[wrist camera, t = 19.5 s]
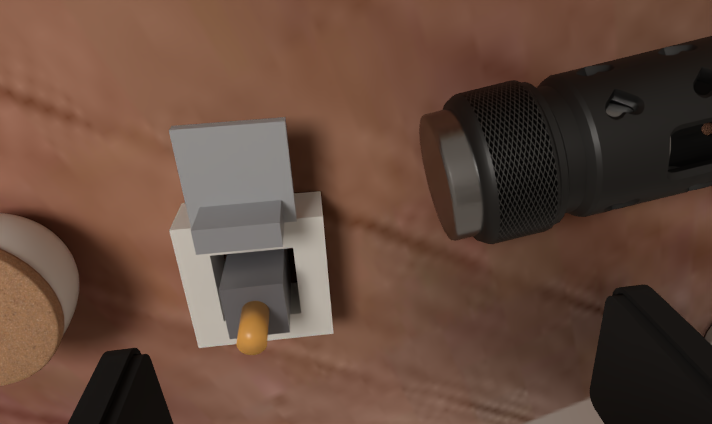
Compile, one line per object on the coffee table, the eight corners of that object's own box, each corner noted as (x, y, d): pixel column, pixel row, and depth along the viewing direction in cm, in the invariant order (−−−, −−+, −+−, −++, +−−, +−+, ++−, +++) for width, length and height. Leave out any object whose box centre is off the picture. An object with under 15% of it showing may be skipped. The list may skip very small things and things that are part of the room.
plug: (290, 274, 40) (289, 364, 31) (240, 279, 40) (224, 372, 31) (284, 230, 38) (281, 313, 30) (231, 235, 38) (211, 320, 29)
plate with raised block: (296, 215, 33) (296, 245, 30) (193, 224, 33) (182, 256, 29) (285, 117, 30) (283, 137, 27) (171, 125, 30) (155, 148, 26)
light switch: (330, 301, 42) (333, 333, 38) (207, 313, 41) (198, 347, 38) (320, 191, 37) (322, 216, 34) (181, 203, 37) (169, 230, 33)
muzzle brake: (784, 117, 39) (936, 168, 29) (426, 205, 39) (466, 283, 30) (809, -17, 34) (997, -5, 25) (405, 83, 34) (445, 131, 25)
